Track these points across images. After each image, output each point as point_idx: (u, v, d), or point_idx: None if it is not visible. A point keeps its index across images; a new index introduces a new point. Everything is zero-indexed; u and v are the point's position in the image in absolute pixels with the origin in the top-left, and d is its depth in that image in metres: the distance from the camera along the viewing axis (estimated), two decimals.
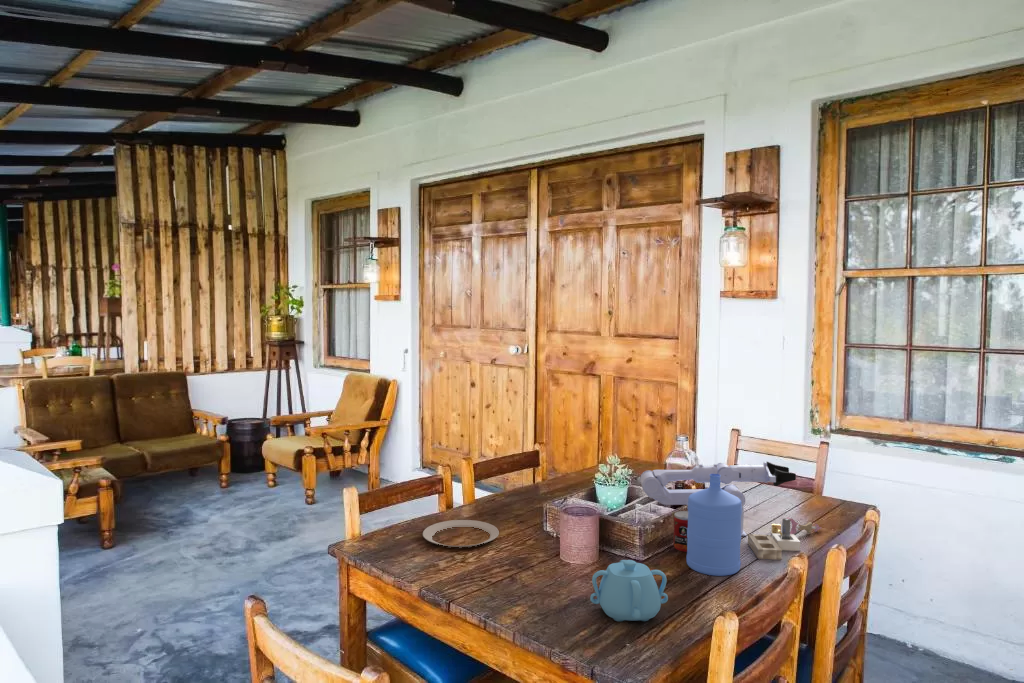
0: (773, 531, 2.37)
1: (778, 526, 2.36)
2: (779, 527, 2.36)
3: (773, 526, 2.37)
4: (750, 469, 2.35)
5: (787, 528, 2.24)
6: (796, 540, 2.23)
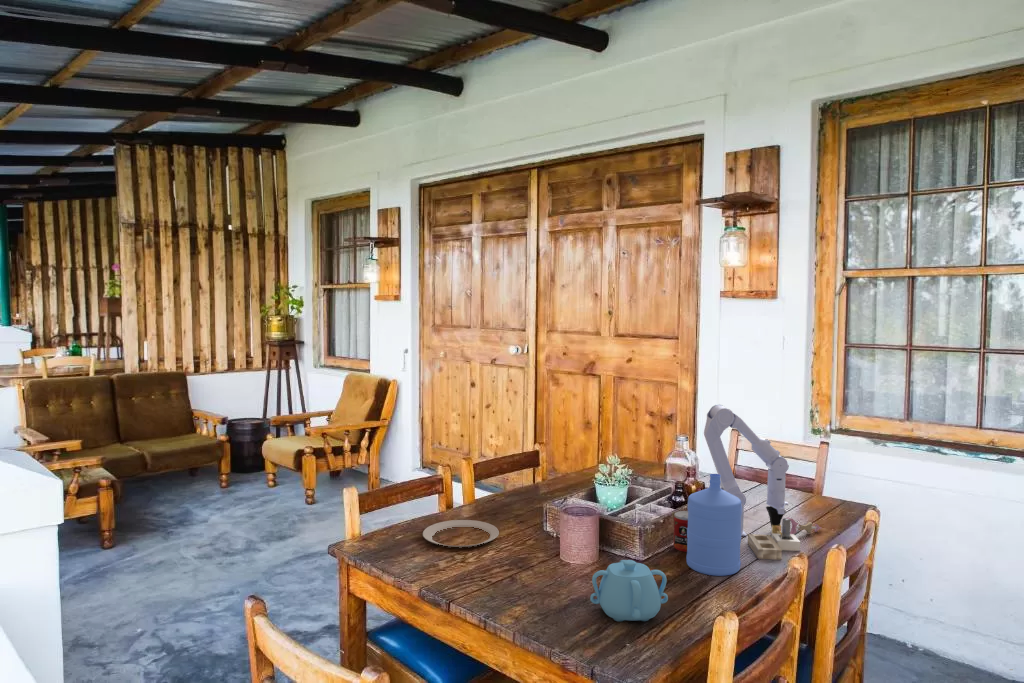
0: (773, 531, 2.36)
1: (778, 526, 2.36)
2: (779, 527, 2.36)
3: (773, 526, 2.36)
4: (784, 489, 2.35)
5: (787, 528, 2.24)
6: (796, 540, 2.23)
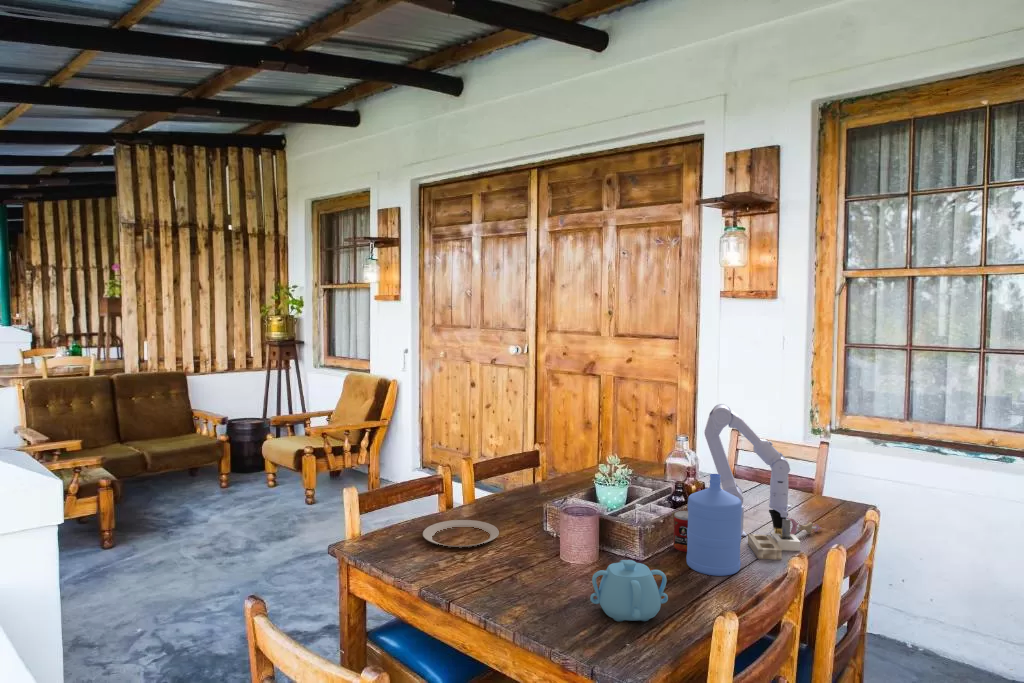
0: None
1: (781, 530, 2.33)
2: None
3: (776, 530, 2.33)
4: (785, 492, 2.32)
5: (787, 528, 2.24)
6: (796, 540, 2.23)
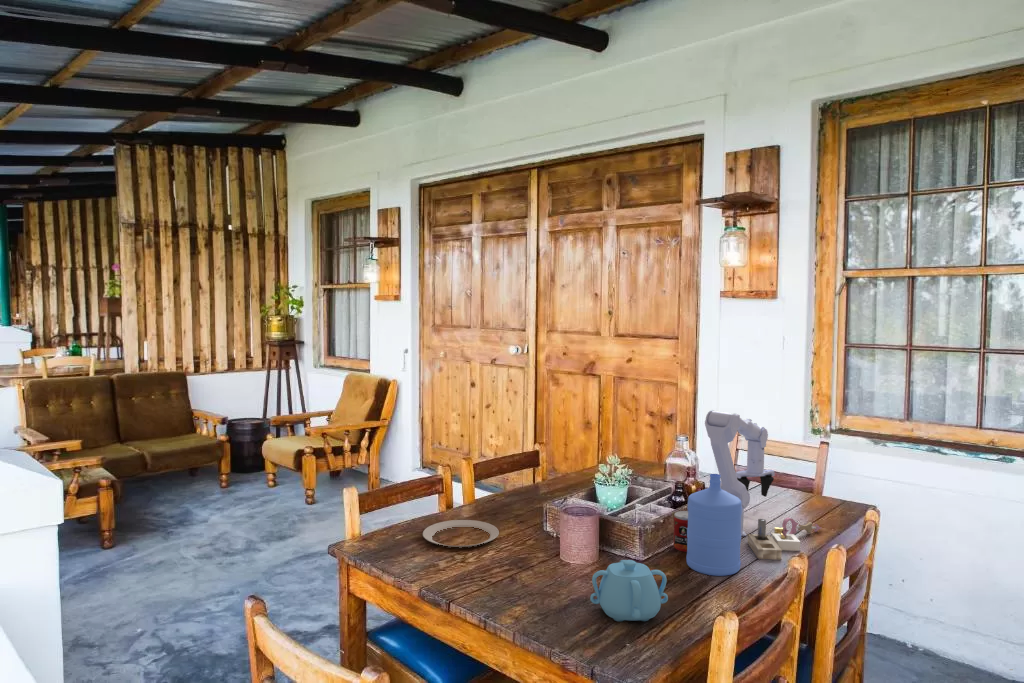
0: None
1: (781, 529, 2.33)
2: (782, 531, 2.33)
3: (776, 529, 2.33)
4: None
5: (763, 529, 2.24)
6: (796, 540, 2.23)
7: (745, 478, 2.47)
